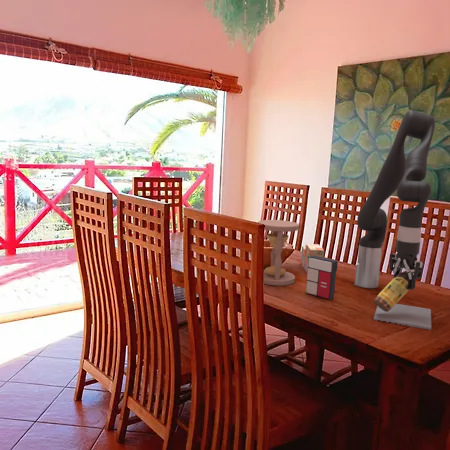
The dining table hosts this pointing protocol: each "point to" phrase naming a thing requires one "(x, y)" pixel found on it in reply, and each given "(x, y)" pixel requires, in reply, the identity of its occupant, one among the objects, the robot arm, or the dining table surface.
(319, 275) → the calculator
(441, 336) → the dining table surface
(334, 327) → the dining table surface
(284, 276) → the hourglass
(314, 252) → the cardboard box
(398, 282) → the sauce bottle
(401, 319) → the slate mat
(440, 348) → the dining table surface
